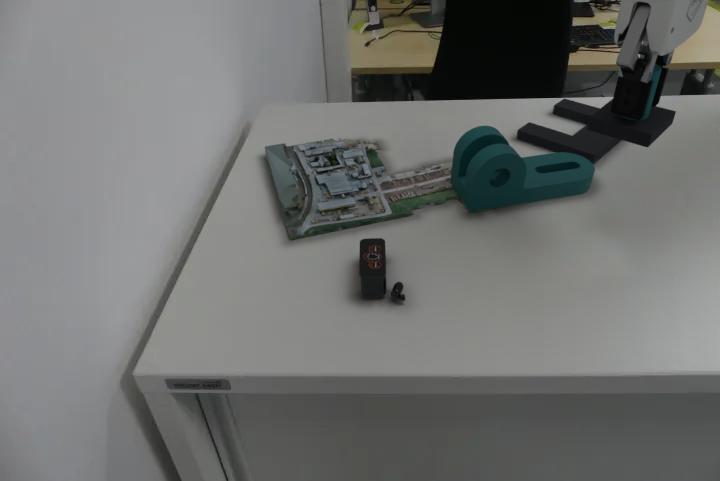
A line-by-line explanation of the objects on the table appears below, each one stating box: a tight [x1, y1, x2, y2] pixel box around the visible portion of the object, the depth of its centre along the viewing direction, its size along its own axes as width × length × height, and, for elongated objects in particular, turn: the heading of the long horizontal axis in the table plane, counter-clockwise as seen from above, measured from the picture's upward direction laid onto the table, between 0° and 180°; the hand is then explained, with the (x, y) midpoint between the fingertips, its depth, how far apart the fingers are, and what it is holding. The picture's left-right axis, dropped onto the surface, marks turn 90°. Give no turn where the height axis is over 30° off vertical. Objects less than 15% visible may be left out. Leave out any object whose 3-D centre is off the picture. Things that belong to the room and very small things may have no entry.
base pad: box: [516, 98, 622, 165], centre depth 84 cm, size 14×12×2 cm
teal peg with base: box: [587, 62, 677, 148], centre depth 57 cm, size 6×6×6 cm
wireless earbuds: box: [358, 237, 406, 302], centre depth 60 cm, size 5×7×3 cm, turn 179°
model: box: [264, 137, 461, 241], centre depth 78 cm, size 21×30×2 cm
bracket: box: [450, 125, 596, 213], centre depth 71 cm, size 18×7×8 cm, turn 103°
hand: (634, 107), depth 58 cm, fingers closed on teal peg with base, 3 cm apart
